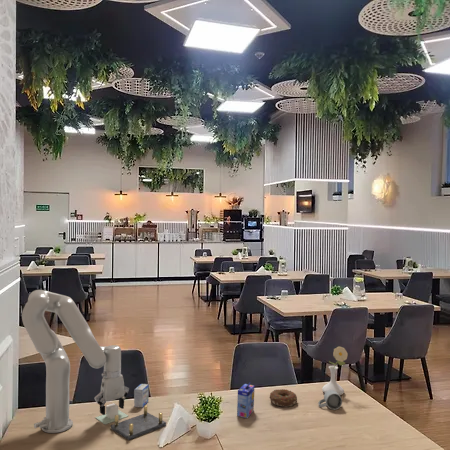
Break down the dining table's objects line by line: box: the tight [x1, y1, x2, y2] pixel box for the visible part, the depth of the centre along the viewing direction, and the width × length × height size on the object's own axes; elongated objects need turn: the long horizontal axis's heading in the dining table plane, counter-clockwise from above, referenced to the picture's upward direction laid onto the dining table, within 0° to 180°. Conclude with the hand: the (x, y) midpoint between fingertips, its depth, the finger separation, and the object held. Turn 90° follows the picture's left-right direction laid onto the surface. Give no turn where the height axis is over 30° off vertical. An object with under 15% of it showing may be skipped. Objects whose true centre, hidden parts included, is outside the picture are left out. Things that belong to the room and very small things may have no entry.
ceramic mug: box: [317, 390, 343, 411], centre depth 214 cm, size 11×8×8 cm
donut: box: [268, 388, 298, 407], centre depth 219 cm, size 14×14×5 cm
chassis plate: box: [110, 404, 167, 441], centre depth 190 cm, size 19×14×6 cm
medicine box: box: [133, 383, 149, 409], centre depth 215 cm, size 8×4×9 cm, turn 168°
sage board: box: [94, 402, 129, 425], centre depth 200 cm, size 12×9×6 cm
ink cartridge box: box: [236, 381, 256, 419], centre depth 205 cm, size 10×6×14 cm, turn 158°
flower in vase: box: [321, 346, 349, 396], centre depth 231 cm, size 13×11×25 cm
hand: (112, 410), depth 200 cm, fingers open, 9 cm apart
